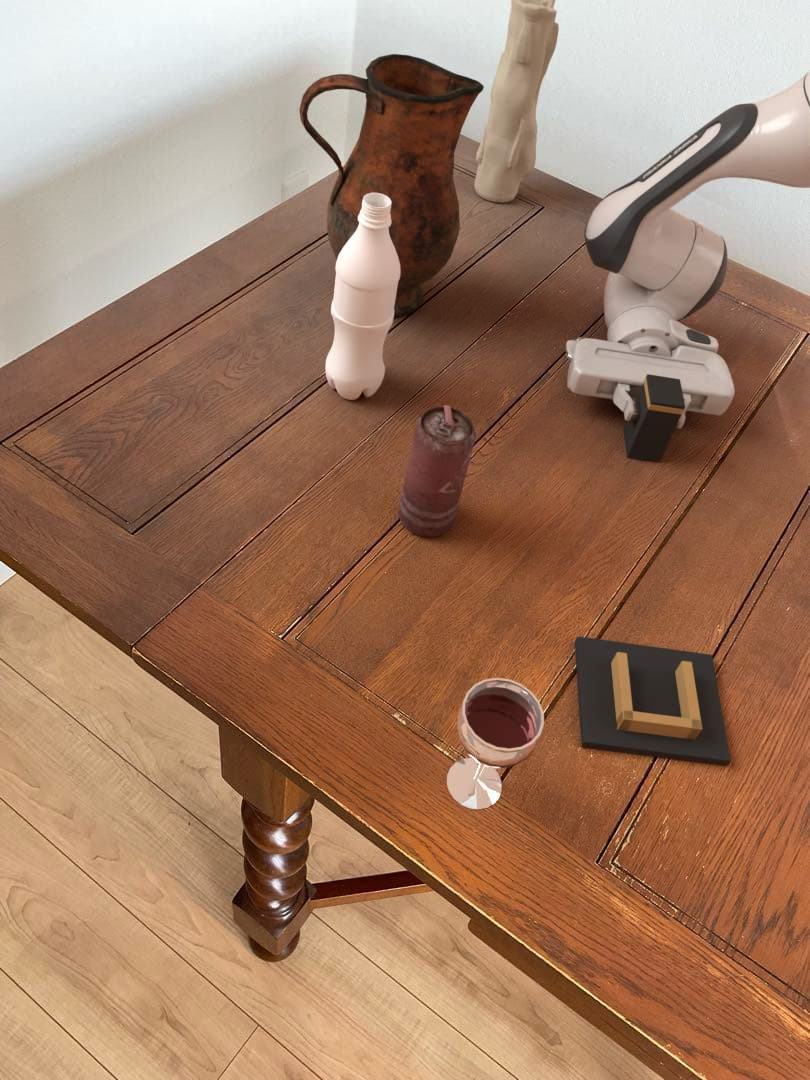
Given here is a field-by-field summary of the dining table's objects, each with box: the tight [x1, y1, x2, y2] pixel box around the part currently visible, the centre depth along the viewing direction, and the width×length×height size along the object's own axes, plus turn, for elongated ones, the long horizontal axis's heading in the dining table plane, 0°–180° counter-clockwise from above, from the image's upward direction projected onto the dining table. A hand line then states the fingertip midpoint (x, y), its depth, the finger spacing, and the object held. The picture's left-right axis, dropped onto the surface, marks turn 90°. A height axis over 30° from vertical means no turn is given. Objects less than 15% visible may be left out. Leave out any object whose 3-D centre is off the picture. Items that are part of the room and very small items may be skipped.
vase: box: [474, 0, 560, 203], centre depth 143 cm, size 9×8×30 cm
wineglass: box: [446, 677, 545, 810], centre depth 81 cm, size 7×7×12 cm
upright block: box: [623, 374, 685, 463], centre depth 115 cm, size 4×5×9 cm
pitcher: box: [298, 53, 485, 318], centre depth 120 cm, size 17×21×30 cm
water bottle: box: [324, 193, 401, 401], centre depth 109 cm, size 7×7×25 cm
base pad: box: [574, 636, 732, 767], centre depth 93 cm, size 14×12×3 cm
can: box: [397, 404, 477, 538], centre depth 101 cm, size 6×6×14 cm
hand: (655, 420), depth 114 cm, fingers closed on upright block, 4 cm apart
